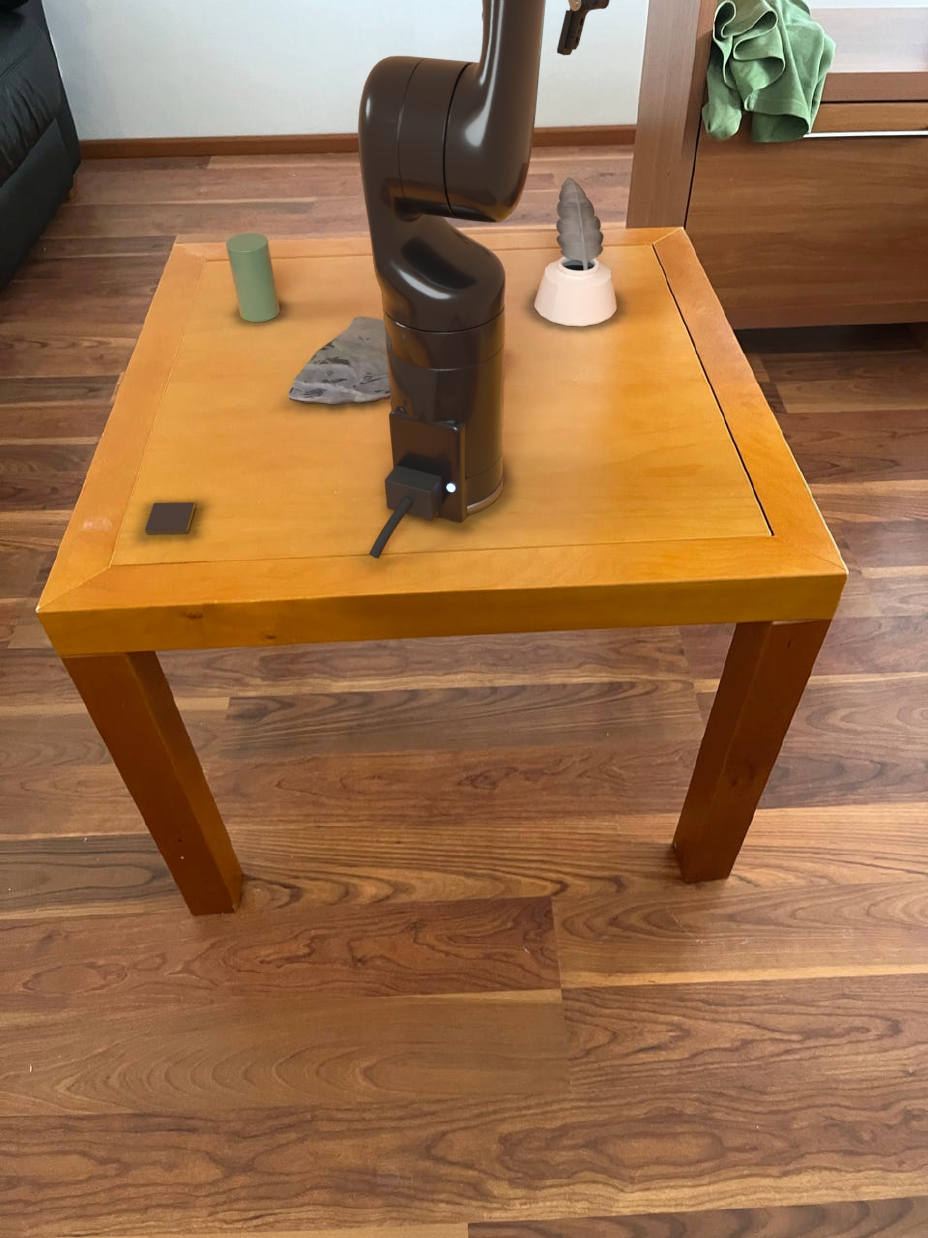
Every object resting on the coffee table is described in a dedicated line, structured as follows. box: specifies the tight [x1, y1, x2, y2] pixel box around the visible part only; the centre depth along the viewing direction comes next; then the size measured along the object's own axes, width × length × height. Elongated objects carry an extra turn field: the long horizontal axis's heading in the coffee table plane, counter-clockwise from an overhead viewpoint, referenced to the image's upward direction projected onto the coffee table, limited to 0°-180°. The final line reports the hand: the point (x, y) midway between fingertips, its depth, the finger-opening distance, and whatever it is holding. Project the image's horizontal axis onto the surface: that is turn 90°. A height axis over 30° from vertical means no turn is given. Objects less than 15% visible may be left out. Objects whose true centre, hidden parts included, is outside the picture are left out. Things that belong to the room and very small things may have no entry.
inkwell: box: [533, 177, 618, 327], centre depth 103 cm, size 9×18×10 cm, turn 5°
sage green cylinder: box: [225, 232, 281, 323], centre depth 101 cm, size 4×4×8 cm
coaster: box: [144, 501, 196, 535], centre depth 79 cm, size 4×4×1 cm
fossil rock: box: [287, 316, 390, 405], centre depth 94 cm, size 18×15×2 cm
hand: (527, 41), depth 95 cm, fingers open, 8 cm apart
